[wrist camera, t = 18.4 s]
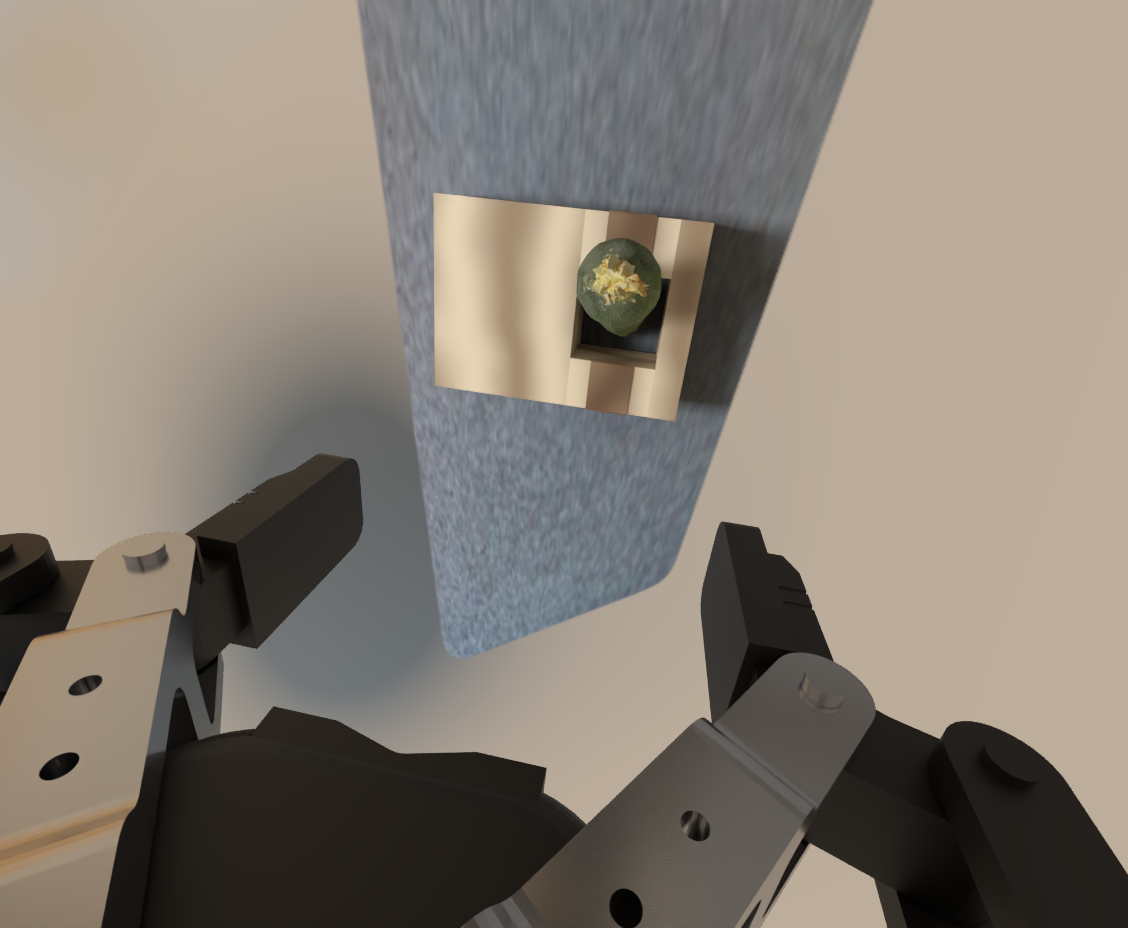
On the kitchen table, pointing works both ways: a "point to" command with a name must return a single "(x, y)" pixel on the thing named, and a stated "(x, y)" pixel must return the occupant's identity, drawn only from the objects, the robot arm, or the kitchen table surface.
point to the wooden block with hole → (555, 304)
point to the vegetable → (619, 284)
